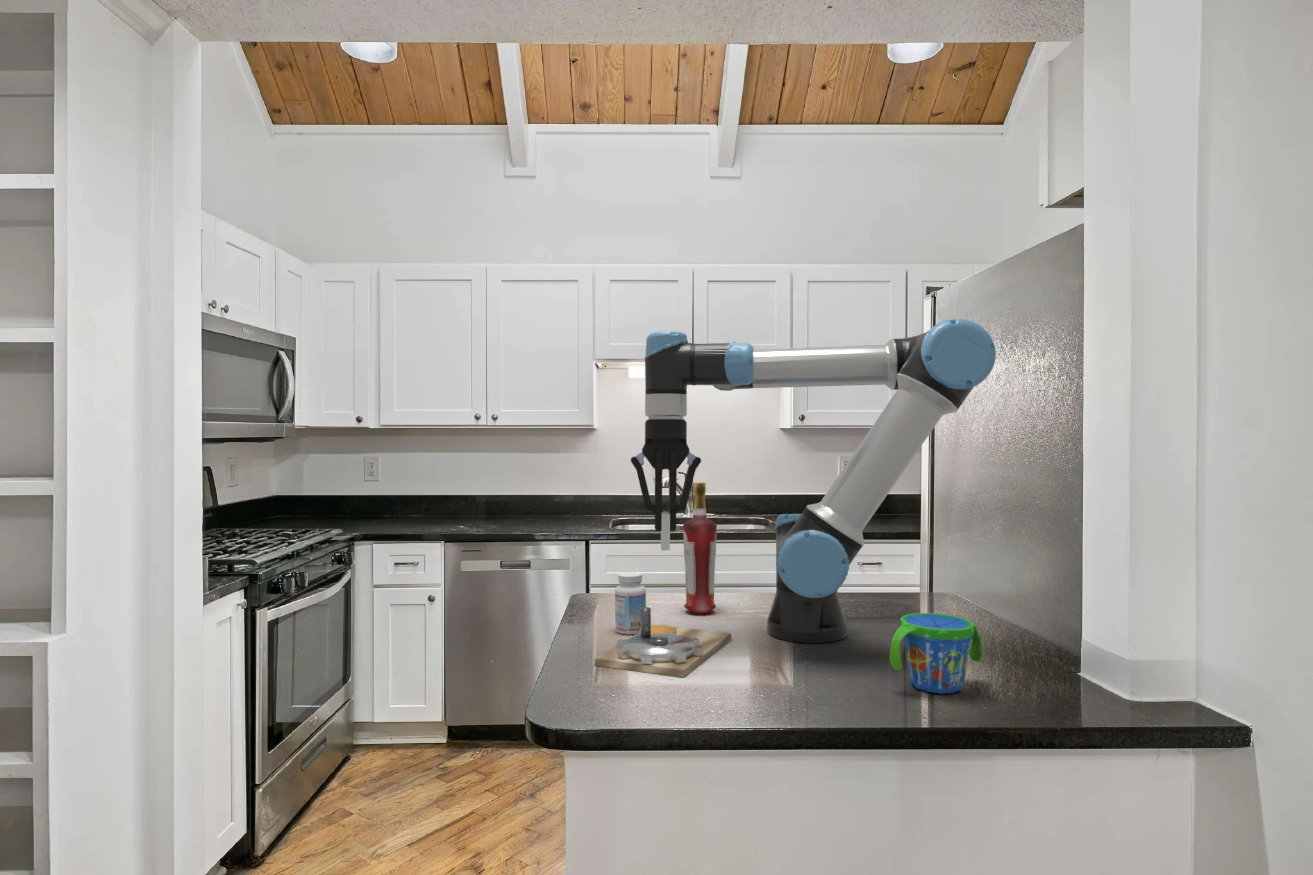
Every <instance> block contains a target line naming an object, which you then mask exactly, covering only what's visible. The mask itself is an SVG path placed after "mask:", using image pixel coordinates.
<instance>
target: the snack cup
mask: <svg viewBox="0 0 1313 875" xmlns="http://www.w3.org/2000/svg"><path fill="white" fill-rule="evenodd" d="M902 641H904V647H905V654H906V663H907V668H908V673H909V679H910V681H911V684H912V685H913V686H914V687H915V689H918V690H921V691H924V692H928V693H934V694H940V695H943V694H951V693H952V694H953V693H956V692H962V691H963V687H964V685H965V679H966V673H967V667H968V661H969V658H970V659H971V660H972V661H974V662H977V663H978V662H980V661H982V660H983V657H984V656H983V655H984V653H983V652H984V648H983V642H982V638H981V633H980V631H979V629H978V628H977V626H976V625H975V624H974V623H973V621H971V620H969V619H966V618H963V617H960V616H957V615H956V616H955V615H950V614H944V613H931V612H930V613H929V612H926V613H925V612H920V613H919V612H918V613H909V614H904V615H903V616H901V617H900V626H899V627H898V628H897V629H896V631H895V632H894V634H893V636H892V640H891V644H890V648H889V656H888V657H889V664H890V665H891V667H892V668H893V669H894V670H895V671H899V672H900V671H902V670H903V664H902Z"/></svg>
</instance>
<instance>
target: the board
mask: <svg viewBox="0 0 1313 875" xmlns="http://www.w3.org/2000/svg"><path fill="white" fill-rule="evenodd" d="M673 627H674V628H676V629H677V633H676V635H680V636H684V637H688V638H690V637H695V638H697V639H699V646H703V654H702V655H701V656H696V655H693V656H692V657H690V658H687V659H686V662H681V663H675V662H653V663H652V664H643V663H641V661H638V660H634V659H631V658H623V659H622V658H620V657H619V656H618V650H617V649H616V645H615V646H614V647H612V648H610V649H608V650H606V651H605V652H602V654H599V655H598V656H596V657H594V666H597V667H605V668H611V669H618V670H624V671H633V672H641V673H647V674H654V675H655V674H656V675H660V676H661V675H662V676H668V677H669V676H670V677H677V678H685V677H686V676H688V675H689V674H690V673H691V672H693V671H694V670H695V669H696V668H698V667H699V666H700V665H702V664H703V663H704V662H705V661H706V660H707V659H709V658H710V657H711V656H712V655H714V654H715V653H716V652H718V651H719V650H720V649H721V648H722V647H724V646H725V645H727V643H729V642H730V641H731V640H732V633H731V632H724V631H716V630H715V631H714V630H705V629H697V628H690V627H689V628H687V627H678V626H673ZM638 634H641V633H638ZM632 637H635V635H633V636H632Z"/></svg>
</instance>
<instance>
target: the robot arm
mask: <svg viewBox="0 0 1313 875" xmlns="http://www.w3.org/2000/svg"><path fill="white" fill-rule="evenodd" d="M996 350H997V349H996V347H995V343H994V341H993V338H992V336H991V335H990V333H989V332H988V331H987V330H986V329H985V328H984V327H983V326H982V325H980V324H979V323H977V322H975V321H972V320H969V319H965V318H964V319H963V318H952V319H946V320H945V319H944V320H943V321H939V322H938V323H936V324H934V325H933V326H932V327H931V328H929V330H927V331H925V332H923V333H921V334H920V333H919V334H918V335H914V336H909V337H903V338H890V339H889V340H888V341H887V342H886V343H884V344H872V345H866V344H865V345H845V346H821V347H820V346H818V347H817V346H816V347H815V346H814V347H795V348H794V347H791V348H767V349H766V348H765V349H764V348H763V349H754V346H753V345H752V344H751V343H749V342H748V343H746V342H745V343H744V342H737V341H732V342H722V343H721V342H720V343H719V342H716V343H715V342H713V343H711V342H710V343H692V342H689V341H688V336H687V334H686V333H685V332H681V331H669V330H666V331H665V330H664V331H654V332H651V333H649V334H648V335H647V337H646V343H645V356H644V366H645V367H644V372H645V373H644V375H645V376H644V377H645V378H644V380H645V384H644V385H645V390H644V392H645V393H644V396H645V397H644V415H645V416H646V417H648V419H646V420H645V421H644V445H643V446H642V449H641V452H640V453H638V454H636V455H635V456H632V457H631V458H630V462H631V464H632V466H633V467H634V469H635V470H636V474H637V477H638V482H639V486H640V491H641V496H642V499H643V504H644V507H645V509H646V510H647V511H650V512H653V513H654V529H655V532H660V549H661V551H670V550H671V532H675V531H676V529H677V514H678V513H679V512H681V511H683V510H686V509H687V507H688V501H689V497H690V494H691V490H692V486H693V483H694V482H693V481H694V477H695V474H696V470H697V468H698V467H699V465H700V464H701V462H702V459H701V457H698V456H696V455H695V454H693V453H692V452H690V447H689V446H688V443H687V440H688V439H687V436H688V435H687V434H688V432H687V431H688V429H687V427H688V424H687V421H686V419H685V418H684V417H687V415H688V414H687V412H688V409H687V408H688V407H687V406H688V394H687V393H688V391H687V388H688V386H712V387H714V388H715V389H717V390H718V391H724V392H725V391H726V392H729V391H733V390H750V389H774V388H778V389H779V388H780V389H781V388H804V387H805V388H807V387H813V388H814V387H842V386H843V387H845V386H848V387H849V386H875V385H876V386H881V385H882V386H883V385H885V386H886V387H888V389H890V390H892V391H894V390H896V391H895V393H894V394H893V396H892V397H891V398H890V401H888V403H887V404H886V406H885V407H884V408H883V410H882V412H881V413H880V414H879V416H878V418H877V419H876V420H875V422H874V423H873V425H872V426H871V428H870V429H869V430H868V432H867V434H866V435H865V436H864V438H863V439H862V441H861V442H860V444H859V445H858V446H857V448H856V449H855V451H854V453H852V455H851V457H850V458H849V460H848V461H847V463H846V464H845V466H844V467H843V468H842V470H841V471H840V473H839V474H838V475H837V477H836V478H835V480H834V481H833V483H832V484H831V486H830V487H829V489H828V490H827V492H826V493H825V494H824V496H823V498H822V499H821V501H819V502H817V503H812V504H807V505H806V506H805V508H804V509H803V511H802V513H783V514H779V515H778V516H777V518H776V520H775V526H774V531H775V549H776V550H775V563H776V564H775V578H776V581H775V582H776V583H775V587H776V589H775V595H774V599H773V600H772V601H773V602H772V604H771V607H770V611H769V614H768V618H767V620H766V621H767V622H766V623H767V625H766V626H767V628H766V630H767V633H768V634H769V635H770V636H772V637H774V638H776V639H780V640H785V641H786V642H787V641H788V642H795V643H804V644H805V643H806V644H822V643H831V642H833V643H834V642H838V641H841V640H843V639H846V637H847V636H848V622H847V620H846V616H845V614H844V610H843V607H842V605H841V601H840V597H839V594H838V590H839V589H840V588H841V587H842V585H843V584H844V582H845V581H846V580H847V576H848V574H849V569H850V565H851V563H852V562H853V561H854V560H855V558H856V556H857V555H858V554H859V552H860V550H861V549H862V547H864V545H865V540H864V535H863V530H864V529H865V528H866V526H867V525H868V523H869V522H870V520H871V519H872V518H873V516H874V514H875V513H876V512H877V510H878V509H879V507H880V506H881V504H882V503H883V502H884V500H885V499H886V497H887V496H888V494H889V493H890V491H891V490H892V489H893V487H894V486H895V485H896V484H897V481H898V480H899V479H900V477H901V476H902V474H904V472H905V470H906V469H907V467H908V466H909V465H910V463H911V461H912V460H913V459H914V457H915V456H916V454H917V453H918V451H919V450H920V449H921V447H922V446H923V444H924V443H925V441H926V440H927V438H928V437H929V435H930V434H931V433H932V431H934V428H935V427H936V426H937V425H938V422H940V420H941V418H942V417H943V416H945V415H950V414H953V413H954V414H955V413H957V411H958V410H959V409H960V407H961V406H962V405H963V403H964V402H965V401H966V399H967V397H968V396H969V394H970V393H971V392H972V390H973V389H974V388H975V387H977V386H979V385H980V384H982V383H983V381H985V380H986V379H987V378H988V377H989V375H990V374H991V372H992V371H993V368H994V366H995V362H996V359H997V358H996V356H997V354H996V352H997V351H996ZM644 458H645V459H646V460H647V462H648V463H649V464H650V466H651V467H652V468H653V469H654V503H653V502H652V501H651V497H650V492H649V488H648V483H647V479H646V475H645V471H644V468H643V465H644V464H645V460H644ZM686 458H687V461H686V464H687V465H688V467H687V470H686V474H685V478H684V481H683V482H684V483H683V485H682V486H683V487H682V490H681V494H680V499H679V502H678V503H677V477H678V476H677V475H678V474H677V473H678V471H677V470H678V468H680V466H681V465H682V464H683V463H684V461H685V460H686ZM663 470H664V471H665V470H668V511H666V512H663Z"/></svg>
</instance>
